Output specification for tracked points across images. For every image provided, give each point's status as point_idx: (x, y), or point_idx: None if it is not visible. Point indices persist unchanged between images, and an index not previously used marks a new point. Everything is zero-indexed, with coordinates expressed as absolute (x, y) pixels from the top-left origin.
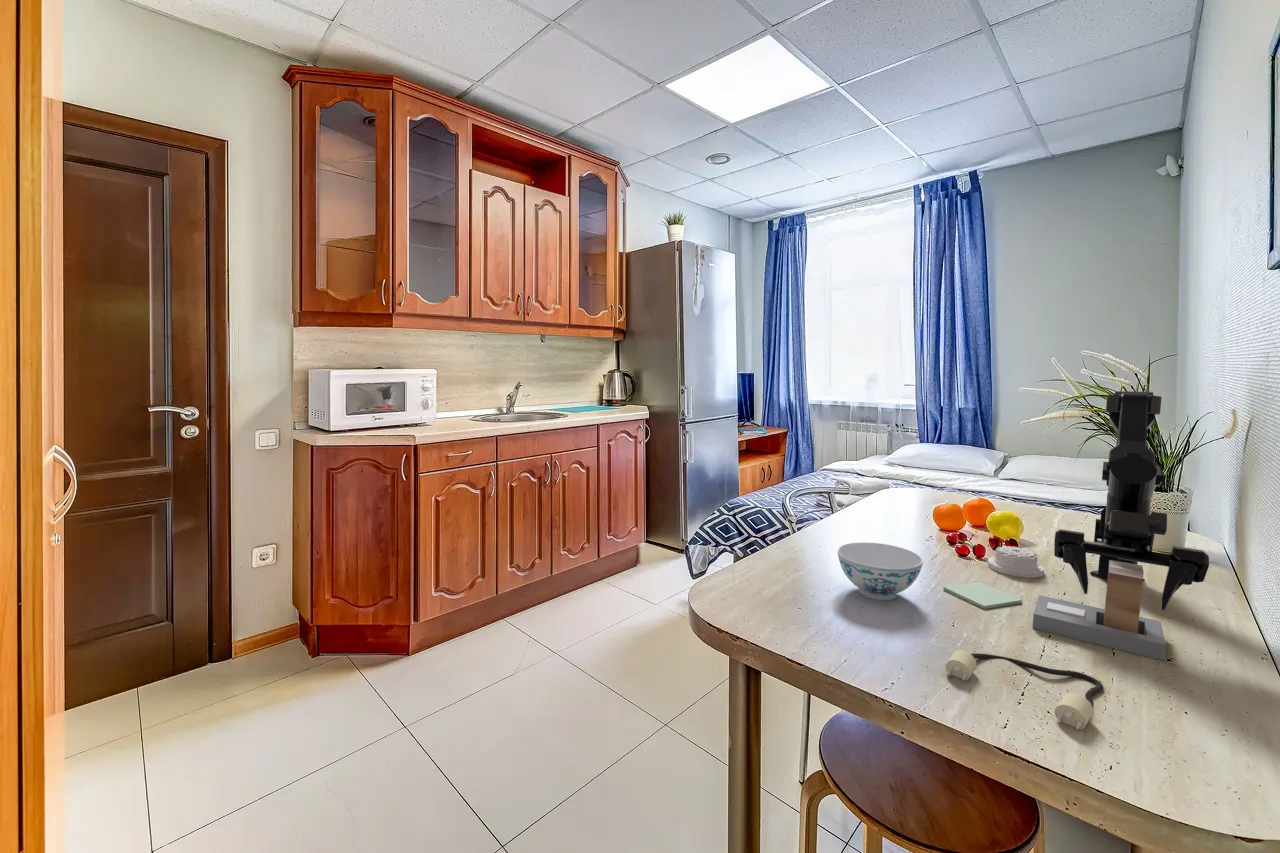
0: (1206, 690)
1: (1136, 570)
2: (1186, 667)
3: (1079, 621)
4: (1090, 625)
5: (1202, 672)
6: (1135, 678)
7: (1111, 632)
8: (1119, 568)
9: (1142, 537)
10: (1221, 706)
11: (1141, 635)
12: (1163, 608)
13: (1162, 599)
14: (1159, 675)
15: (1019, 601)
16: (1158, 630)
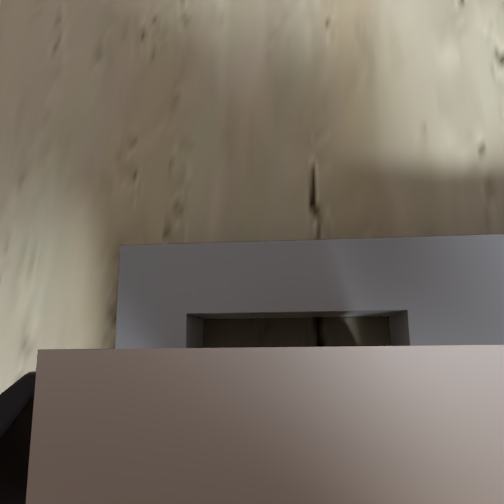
0: (55, 91)
1: (137, 405)
2: (81, 254)
3: (484, 281)
4: (428, 263)
5: (37, 245)
6: (245, 23)
7: (332, 239)
8: (411, 349)
9: None
10: (38, 5)
11: (208, 295)
12: None
13: (15, 410)
14: (174, 106)
15: None
16: None
